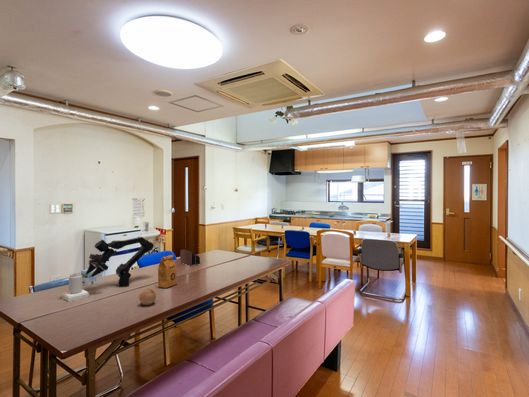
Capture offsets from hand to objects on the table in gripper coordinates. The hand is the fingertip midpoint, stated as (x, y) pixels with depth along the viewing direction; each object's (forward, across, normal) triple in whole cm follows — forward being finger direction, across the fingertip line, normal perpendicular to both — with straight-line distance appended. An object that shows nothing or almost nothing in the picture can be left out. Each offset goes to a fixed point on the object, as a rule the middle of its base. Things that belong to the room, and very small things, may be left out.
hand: (88, 275), depth 200 cm
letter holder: (-59, -20, +78) cm, 100 cm away
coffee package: (-21, +26, +39) cm, 52 cm away
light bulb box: (+2, -25, +16) cm, 30 cm away
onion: (-1, +49, +19) cm, 52 cm away
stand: (+15, 0, +3) cm, 15 cm away
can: (+12, 0, +1) cm, 13 cm away
